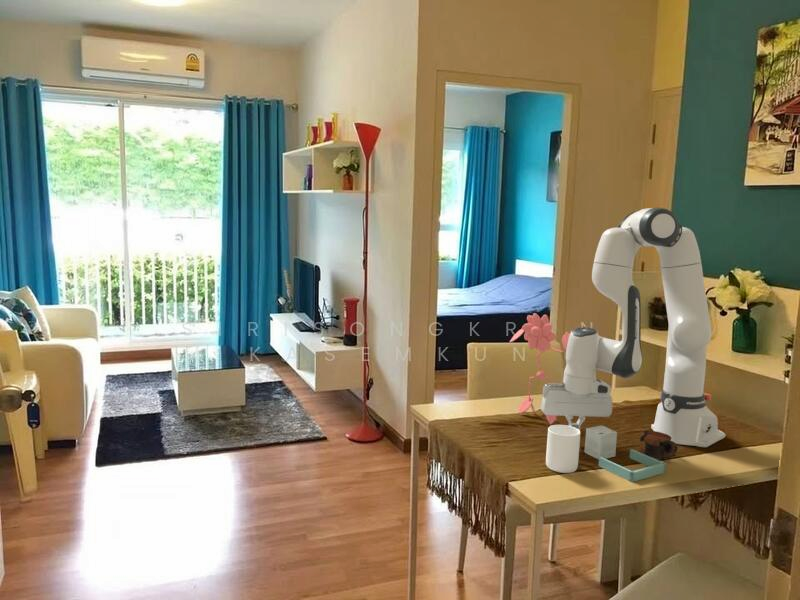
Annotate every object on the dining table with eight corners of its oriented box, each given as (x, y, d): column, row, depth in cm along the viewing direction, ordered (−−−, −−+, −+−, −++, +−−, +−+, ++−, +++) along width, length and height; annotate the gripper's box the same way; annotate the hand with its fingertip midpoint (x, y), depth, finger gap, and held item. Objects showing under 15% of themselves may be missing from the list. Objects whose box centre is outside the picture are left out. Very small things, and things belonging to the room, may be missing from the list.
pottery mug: (628, 456, 182) (634, 427, 184) (649, 465, 186) (654, 438, 189) (665, 460, 172) (670, 430, 174) (687, 470, 176) (692, 441, 178)
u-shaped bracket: (631, 457, 179) (632, 449, 179) (665, 472, 170) (666, 463, 170) (598, 466, 173) (599, 457, 172) (632, 481, 163) (632, 472, 163)
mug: (562, 454, 180) (565, 419, 178) (589, 463, 174) (593, 427, 173) (539, 466, 171) (542, 429, 169) (567, 476, 165) (570, 438, 164)
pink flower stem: (516, 405, 222) (521, 305, 216) (579, 427, 202) (587, 318, 196) (485, 414, 212) (489, 309, 206) (548, 438, 193) (555, 323, 187)
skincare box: (599, 449, 185) (601, 424, 184) (615, 457, 180) (618, 431, 178) (583, 452, 182) (585, 427, 181) (599, 460, 177) (601, 434, 176)
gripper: (546, 385, 182) (542, 432, 184) (617, 388, 184) (611, 434, 186) (540, 379, 188) (536, 424, 191) (608, 381, 190) (603, 426, 192)
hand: (574, 429), depth 188 cm, fingers closed
